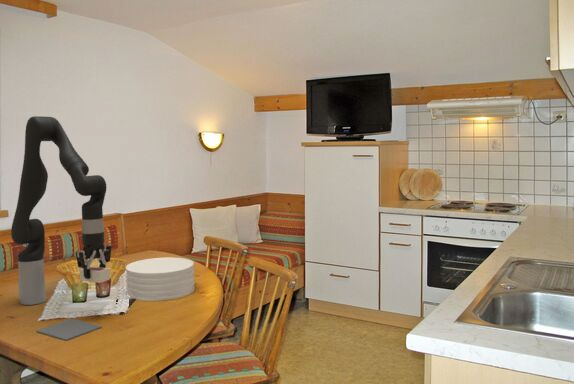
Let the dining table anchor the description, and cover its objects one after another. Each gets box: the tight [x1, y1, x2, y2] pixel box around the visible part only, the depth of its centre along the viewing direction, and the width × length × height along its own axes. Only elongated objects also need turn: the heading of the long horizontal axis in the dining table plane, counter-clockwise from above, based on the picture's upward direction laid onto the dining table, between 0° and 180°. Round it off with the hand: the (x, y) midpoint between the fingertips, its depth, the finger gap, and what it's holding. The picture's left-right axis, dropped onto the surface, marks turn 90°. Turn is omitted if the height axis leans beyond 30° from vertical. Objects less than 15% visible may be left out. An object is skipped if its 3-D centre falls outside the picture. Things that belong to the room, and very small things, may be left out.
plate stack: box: [125, 256, 195, 302], centre depth 228 cm, size 28×28×12 cm
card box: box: [79, 265, 111, 284], centre depth 195 cm, size 9×6×4 cm, turn 68°
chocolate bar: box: [108, 298, 136, 316], centre depth 207 cm, size 9×1×18 cm
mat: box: [35, 318, 103, 342], centre depth 183 cm, size 16×14×1 cm
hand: (95, 276), depth 195 cm, fingers closed on card box, 6 cm apart
